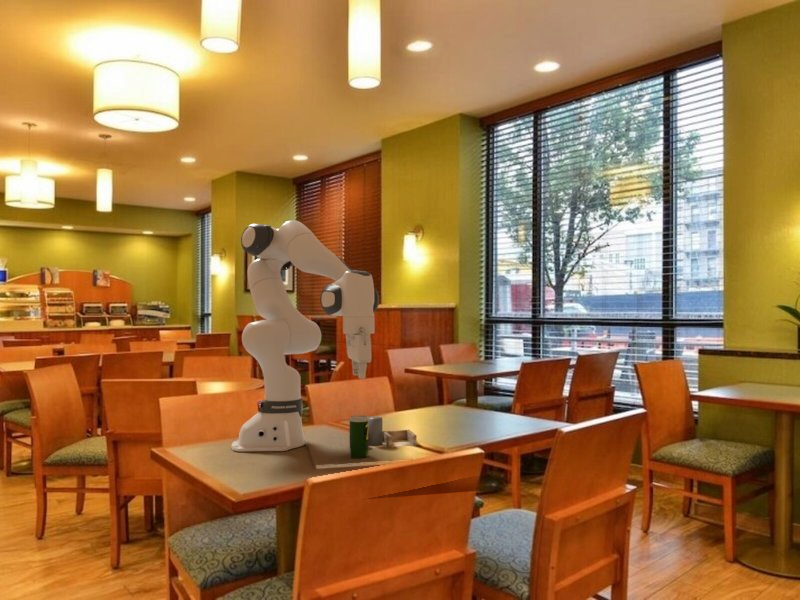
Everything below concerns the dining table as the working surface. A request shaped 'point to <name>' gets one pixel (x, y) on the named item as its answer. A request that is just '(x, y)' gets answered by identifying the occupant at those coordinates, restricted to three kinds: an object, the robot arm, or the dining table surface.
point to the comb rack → (398, 439)
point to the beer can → (359, 436)
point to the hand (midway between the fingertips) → (359, 376)
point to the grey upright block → (375, 431)
